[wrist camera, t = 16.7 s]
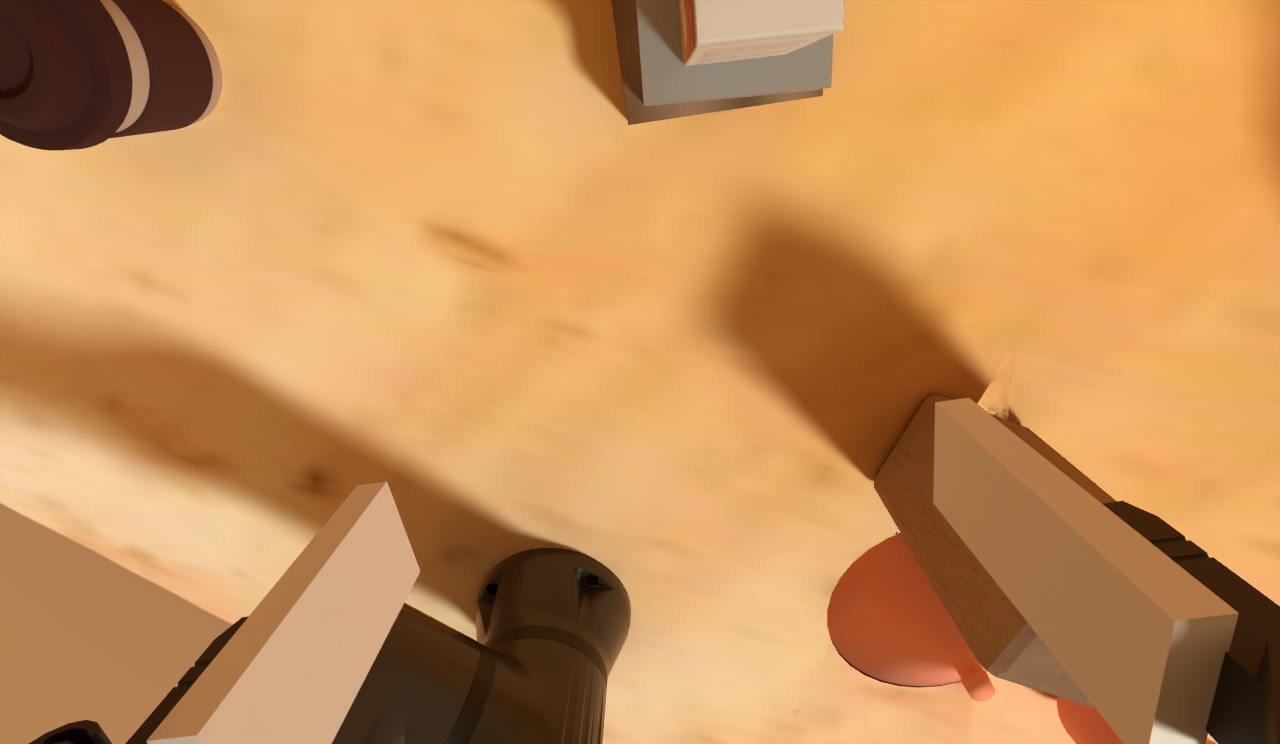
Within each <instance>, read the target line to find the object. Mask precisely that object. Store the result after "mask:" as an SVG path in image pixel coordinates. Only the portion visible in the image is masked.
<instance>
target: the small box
mask: <svg viewBox="0 0 1280 744" xmlns="http://www.w3.org/2000/svg"><path fill="white" fill-rule="evenodd" d="M679 8H680V24H681V39H682V55H683V63H684V65H685V66H691V65H701V64H711V63H720V62H729V61H737V60H746V59H754V58H762V57H770V56H777V55H785V54H787V53H790V52H792V51H795V50H797V49H799V48H802V47H804V46H807V45H809V44H811V43H813V42H816V41H818V40H820V39H823V38H825V37H827V36H830V35H832V34H834V33H837V32H839V31H841V30H842V29H843V28H844V24H845V17H844V0H679Z"/></svg>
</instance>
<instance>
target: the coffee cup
mask: <svg viewBox="0 0 1280 744" xmlns="http://www.w3.org/2000/svg"><path fill="white" fill-rule="evenodd" d="M221 88H222V74H221V68H220V63H219V60H218V57H217V54H216V52H215V50H214V47H213V45H212V44H211V42H210V40H209V39H208V37H207V36H206V34H205V33H204V32H203V30H202V29H201V28H200V27H199V26H198V25H197V24H196V23H195V22H194V21H193V20H192V19H191V18H190V17H189V16H188V15H186V14H185V13H183V12H182V11H180V10H179V9H177V8H175V7H173V6H171V5H168V4H167V3H165V2H164V1H162V0H0V134H1V135H2V136H4V137H6V138H8V139H10V140H12V141H15V142H17V143H20V144H22V145H25V146H29V147H32V148H37V149H42V150H71V149H83V148H88V147H92V146H95V145H98V144H100V143H102V142H104V141H105V140H107V139H108V138H115V137H123V136H130V135H138V134H145V133H153V132H160V131H168V130H175V129H180V128H183V127H186V126H189V125H191V124H193V123H196V122H199V121H201V120H203V119H204V118H206V117H207V116H208V115H209V114H210V113H211V112H212V111H213V110H214V108H215V107H216V105H217V103H218V101H219V98H220V94H221Z"/></svg>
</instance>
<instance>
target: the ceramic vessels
mask: <svg viewBox="0 0 1280 744" xmlns="http://www.w3.org/2000/svg"><path fill="white" fill-rule="evenodd" d="M827 626H828V630H829V634H830V638H831V641H832V643H833V645H834V646H835V648H836V650H837V651H838V653H839V655H840V656H841V657H842V658H843V659H844V660H845V661H846V662H847V663H848V664H849V665H850V666H852V667H853V668H855V669H856V670H858V671H859V672H861V673H862V674H864V675H866V676H868V677H871V678H873V679H875V680H878V681H880V682H884V683H888V684H893V685H897V686H906V687H934V686H942V685H947V684H952V683H958V682H962V684H963V685H964V687H965V688H966V690H967V692H968V693H969V695H970V696H971V698H972V699H974V700H976V701H985V700H988V699H990V698H991V697H992V696H993V695H994V693H995V689H994V687H993V685H992V683H991V681H990V679H989V677H988V675H987V673H986V672H987V670H986V669H985V668H983V667H982V666H981V665H980V664H979V663H978V661H977V660H976V658H975V656H974V655H973V653H972V651H971V650H970V648H969V646H968V645H967V643H966V641H965V640H964V638H963V636H962V635H961V633H960V631H959V630H958V628H957V626H956V624H955V623H954V621H953V619H952V618H951V616H950V614H949V613H948V611H947V609H946V608H945V606H944V604H943V603H942V601H941V599H940V598H939V596H938V594H937V592H936V591H935V589H934V587H933V586H932V584H931V582H930V581H929V579H928V577H927V576H926V574H925V572H924V571H923V569H922V567H921V566H920V564H919V562H918V561H917V559H916V557H915V555H914V554H913V552H912V550H911V549H910V547H909V545H908V544H907V542H906V540H905V539H904V537H903V535H902V534H901V533H900V534H897V535H895V536H892V537H890V538H888V539H886V540H884V541H883V542H881V543H879V544H877V545H876V546H874V547H872V548H871V549H869V550H868V551H867V552H865V553H864V554H863V555H862V556H861V557H859V558H858V559H857V560H856V561H855V562H853V563H852V565H851V566H850V567H849V568H848V569H847V571H846V572H845V573H844V574H843V575H842V577H841V578H840V580H839V581H838V583H837V585H836V587H835V589H834V591H833V593H832V595H831V599H830V603H829V606H828V610H827ZM1057 708H1058V713H1059V717H1060V719H1061V722H1062V724H1063V726H1064V728H1065V730H1066V731H1067V733H1068V734H1069V735H1070V736H1071V737H1072V739H1073V740H1074V741H1075V742H1076V744H1123V742H1122V741H1121V740H1120V738H1119V737H1118V736H1117V735H1116V733H1115V732H1114V731H1113V730H1112V728H1111V727H1110V726H1109V725H1108V723H1107V722H1106V721H1105V720H1104V718H1103V717H1102V716H1101V714H1100V713H1099V712H1098V711H1097V709H1095V708H1092V707H1089V706H1085V705H1082V704H1079V703H1076V702H1073V701H1070V700H1067V699H1064V698H1061V697H1058V699H1057ZM1205 744H1216V743H1215V742H1213V741H1211V740H1209V739H1206V743H1205Z"/></svg>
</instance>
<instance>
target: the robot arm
mask: <svg viewBox="0 0 1280 744" xmlns="http://www.w3.org/2000/svg"><path fill="white" fill-rule="evenodd" d="M933 503H934V505H935V506H936V507H937V509H938V510H939V511H940V512H941V514H942V515H943V516H944V517H945V519H946V520H947V521H948V522H949V524H950V525H951V526H952V527H953V529H954V530H955V531H956V533H957V534H958V535H959V536H960V538H961V539H962V540H963V541H964V543H965V544H966V545H967V546H968V548H969V549H970V550H971V551H972V553H973V554H974V555H975V557H976V558H977V559H978V560H979V562H980V563H981V564H982V565H983V567H984V568H985V569H986V570H987V572H988V573H989V574H990V576H991V577H992V578H993V579H994V581H995V582H996V583H997V584H998V586H999V587H1000V588H1001V589H1002V591H1003V592H1004V593H1005V594H1006V596H1007V597H1008V598H1009V600H1010V601H1011V602H1012V603H1013V605H1014V606H1015V607H1016V608H1017V610H1018V611H1019V612H1020V613H1021V615H1022V616H1023V617H1024V618H1025V620H1026V621H1027V622H1028V624H1029V625H1030V626H1031V627H1032V629H1033V630H1034V631H1035V632H1036V634H1037V635H1038V636H1039V637H1040V639H1041V640H1042V641H1043V642H1044V644H1045V645H1046V646H1047V648H1048V649H1049V650H1050V651H1051V653H1052V654H1053V655H1054V656H1055V658H1056V659H1057V660H1058V661H1059V663H1060V664H1061V665H1062V666H1063V668H1064V669H1065V670H1066V672H1067V673H1068V674H1069V675H1070V677H1071V678H1072V679H1073V680H1074V682H1075V683H1076V684H1077V685H1078V687H1079V688H1080V689H1081V690H1082V692H1083V693H1084V694H1085V696H1086V697H1087V698H1088V699H1089V701H1090V702H1091V703H1092V704H1093V706H1094V707H1095V708H1096V709H1097V711H1098V712H1099V713H1100V714H1101V716H1102V717H1103V718H1104V720H1105V721H1106V722H1107V723H1108V725H1109V726H1110V727H1111V728H1112V730H1113V731H1114V732H1115V733H1116V735H1117V736H1118V737H1119V738H1120V740H1121V741H1122V742H1123V744H1205V743H1206V739H1207V735H1208V733H1209V734H1210V735H1211V736H1212V737H1213V738H1214V739H1215V741H1216V742H1217V743H1218V744H1280V606H1278V605H1277V604H1276V603H1274V602H1273V601H1272V600H1270V599H1269V598H1268V597H1266V596H1265V595H1263V594H1262V593H1261V592H1259V591H1258V590H1257V589H1255V588H1254V587H1253V586H1251V585H1250V584H1249V583H1247V582H1246V581H1244V580H1243V579H1242V578H1240V577H1239V576H1238V575H1236V574H1235V573H1234V572H1232V571H1231V570H1230V569H1228V568H1227V567H1225V566H1224V565H1223V564H1221V563H1220V562H1219V561H1217V560H1216V559H1215V558H1209V557H1208V555H1207V552H1205V551H1204V550H1202V549H1201V548H1200V547H1198V546H1197V545H1196V544H1194V543H1193V542H1192V541H1190V540H1189V541H1186V539H1185V536H1183V535H1182V534H1181V533H1179V532H1178V531H1177V530H1175V529H1174V528H1173V527H1171V526H1170V525H1169V524H1167V523H1166V522H1164V521H1163V520H1162V519H1160V518H1159V517H1158V516H1156V515H1153V514H1151V513H1149V512H1146V511H1144V510H1142V509H1140V508H1137V507H1135V506H1133V505H1131V504H1128V503H1126V502H1124V501H1118V502H1111V503H1103V504H1102V503H1100V502H1099V501H1098V500H1097V499H1095V498H1094V497H1093V496H1092V495H1090V494H1089V493H1088V492H1087V491H1085V490H1084V489H1083V488H1082V487H1080V486H1079V485H1078V484H1077V483H1075V482H1074V481H1073V480H1072V479H1070V478H1069V477H1068V476H1067V475H1065V474H1064V473H1063V472H1062V471H1060V470H1059V469H1058V468H1057V467H1055V466H1054V465H1053V464H1052V463H1050V462H1049V461H1048V460H1047V459H1045V458H1044V457H1043V456H1042V455H1040V454H1039V453H1038V452H1037V451H1035V450H1034V449H1033V448H1032V447H1030V446H1029V445H1028V444H1027V443H1025V442H1024V441H1023V440H1022V439H1020V438H1019V437H1018V436H1017V435H1015V434H1014V433H1013V432H1012V431H1010V430H1009V429H1008V428H1007V427H1005V426H1004V425H1003V424H1002V423H1000V422H999V421H998V420H997V419H995V418H994V417H993V416H992V415H990V414H989V413H988V412H987V411H985V410H984V409H983V408H982V407H980V406H979V405H978V404H977V403H975V402H974V401H973V400H972V399H970V398H963V399H956V400H949V401H942V402H935V432H934V491H933ZM419 573H420V569H419V566H418V564H417V561H416V558H415V555H414V553H413V550H412V547H411V545H410V542H409V539H408V537H407V534H406V531H405V529H404V526H403V523H402V520H401V518H400V515H399V512H398V510H397V507H396V504H395V502H394V499H393V496H392V494H391V491H390V488H389V485H388V483H387V481H385V482H378V483H371V484H364V485H357V486H356V487H355V488H354V490H353V491H352V492H351V493H350V495H349V496H348V497H347V498H346V499H345V501H344V502H343V503H342V504H341V505H340V507H339V508H338V509H337V510H336V512H335V513H334V514H333V515H332V516H331V518H330V519H329V520H328V521H327V522H326V524H325V525H324V526H323V527H322V529H321V530H320V531H319V532H318V533H317V535H316V536H315V537H314V538H313V539H312V541H311V542H310V543H309V544H308V545H307V547H306V548H305V549H304V550H303V552H302V553H301V554H300V555H299V556H298V558H297V559H296V560H295V561H294V562H293V564H292V565H291V566H290V567H289V569H288V570H287V571H286V572H285V573H284V575H283V576H282V577H281V578H280V579H279V581H278V582H277V583H276V584H275V586H274V587H273V588H272V589H271V590H270V592H269V593H268V594H267V595H266V596H265V598H264V599H263V600H262V601H261V603H260V604H259V605H258V606H257V607H256V609H255V610H254V611H253V612H252V613H251V615H250V616H249V617H242V618H241V619H240V620H238V621H237V622H236V623H235V624H233V625H232V626H231V627H230V628H228V629H227V630H226V631H225V632H224V633H222V634H221V635H220V636H218V637H217V638H216V639H215V640H214V641H213V642H212V643H211V645H210V646H209V647H208V648H207V649H206V650H205V652H204V653H203V654H202V655H201V656H200V657H199V659H198V660H197V661H196V662H195V667H191V668H190V669H189V670H188V671H187V673H186V674H185V675H184V676H183V677H182V679H181V680H180V681H179V682H178V687H174V688H173V689H172V690H171V691H170V692H169V694H168V695H167V696H166V697H165V699H163V701H162V702H161V703H160V704H159V705H158V706H157V708H156V709H155V710H154V711H153V712H152V714H151V715H150V716H149V717H148V719H146V721H145V722H144V723H143V724H142V725H141V726H140V728H139V729H138V730H137V731H136V732H135V733H134V735H133V736H132V737H131V738H130V739H129V740H128V742H127V743H126V744H602V741H603V728H604V715H605V702H606V689H607V678H608V675H609V673H610V671H611V669H612V667H613V665H614V663H615V661H616V659H617V657H618V655H619V653H620V651H621V648H622V646H623V644H624V642H625V640H626V638H627V635H628V631H629V627H630V619H631V606H630V600H629V597H628V594H627V592H626V589H625V588H624V586H623V584H622V583H621V581H620V580H619V579H618V578H617V576H616V575H615V574H614V573H613V572H612V571H611V570H610V569H608V568H607V567H606V566H604V565H603V564H601V563H600V562H598V561H597V560H595V559H593V558H591V557H589V556H586V555H584V554H581V553H578V552H574V551H570V550H565V549H557V548H541V549H533V550H528V551H524V552H520V553H518V554H515V555H513V556H510V557H509V558H507V559H505V560H503V561H502V562H500V563H499V564H498V565H497V566H495V567H494V568H493V569H492V570H491V571H490V573H489V574H488V575H487V577H486V578H485V580H484V582H483V584H482V586H481V589H480V592H479V594H478V598H477V603H476V632H477V641H475V640H474V639H472V638H470V637H468V636H466V635H464V634H462V633H460V632H458V631H457V630H455V629H453V628H451V627H449V626H447V625H445V624H443V623H441V622H440V621H438V620H436V619H434V618H432V617H430V616H428V615H426V614H425V613H423V612H421V611H419V610H417V609H415V608H413V607H411V606H409V605H408V604H406V603H404V602H405V600H406V598H407V596H408V594H409V593H410V591H411V589H412V587H413V585H414V583H415V581H416V579H417V577H418V575H419ZM29 744H112V743H111V742H110V740H109V739H108V737H107V736H106V734H105V733H104V731H103V730H102V729H101V727H100V726H99V724H98V723H97V722H93V721H89V720H84V721H78V722H74V723H69V724H66V725H64V726H62V727H59V728H57V729H55V730H52V731H50V732H48V733H46V734H44V735H42V736H41V737H39V738H38V739H36V740H34V741H32V742H31V743H29Z"/></svg>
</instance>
